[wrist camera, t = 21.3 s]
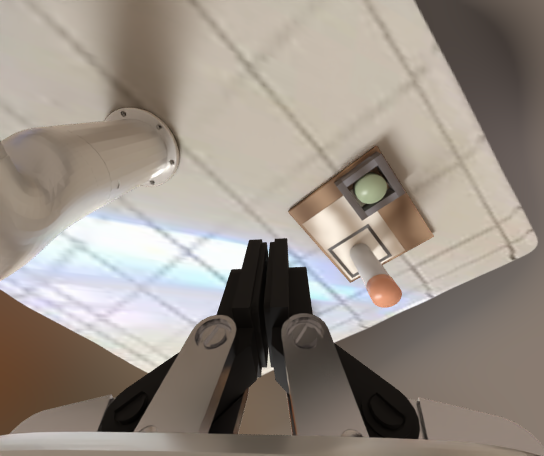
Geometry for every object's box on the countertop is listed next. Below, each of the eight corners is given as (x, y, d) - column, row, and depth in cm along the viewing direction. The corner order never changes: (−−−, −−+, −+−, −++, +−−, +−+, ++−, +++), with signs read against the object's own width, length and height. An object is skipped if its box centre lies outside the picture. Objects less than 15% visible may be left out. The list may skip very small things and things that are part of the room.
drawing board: (349, 280, 51) (352, 289, 48) (288, 210, 44) (288, 217, 42) (431, 234, 45) (440, 242, 42) (375, 145, 38) (382, 148, 36)
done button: (362, 204, 42) (365, 209, 40) (347, 184, 40) (350, 188, 38) (387, 188, 40) (392, 191, 38) (373, 166, 39) (377, 169, 37)
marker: (359, 265, 48) (385, 312, 36) (344, 253, 47) (365, 297, 35) (375, 251, 46) (407, 294, 34) (360, 238, 45) (388, 279, 33)
